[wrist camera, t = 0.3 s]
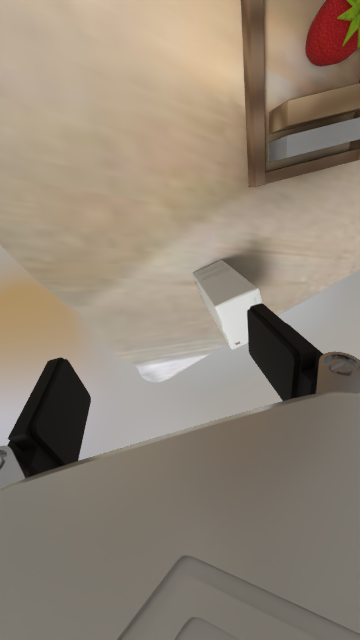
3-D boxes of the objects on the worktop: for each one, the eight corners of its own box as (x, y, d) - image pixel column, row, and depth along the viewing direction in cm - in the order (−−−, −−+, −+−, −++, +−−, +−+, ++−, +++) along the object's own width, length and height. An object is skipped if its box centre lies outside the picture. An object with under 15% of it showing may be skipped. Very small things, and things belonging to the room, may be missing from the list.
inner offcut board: (268, 112, 32) (288, 100, 28) (344, 94, 33) (375, 79, 28) (268, 134, 33) (287, 125, 29) (341, 116, 34) (371, 105, 30)
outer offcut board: (268, 142, 34) (287, 135, 30) (340, 124, 34) (369, 114, 30) (268, 162, 35) (286, 157, 31) (337, 144, 36) (365, 137, 31)
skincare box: (232, 294, 46) (272, 334, 32) (203, 307, 46) (231, 353, 33) (221, 257, 41) (262, 286, 28) (189, 272, 42) (214, 308, 28)
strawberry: (339, 61, 31) (419, 9, 22) (290, 95, 31) (348, 58, 23) (334, -1, 28) (423, -88, 19) (279, 39, 28) (342, -28, 20)
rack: (240, -20, 25) (266, -74, 20) (391, -53, 26) (453, -113, 21) (248, 187, 36) (267, 185, 31) (355, 159, 37) (390, 154, 32)
